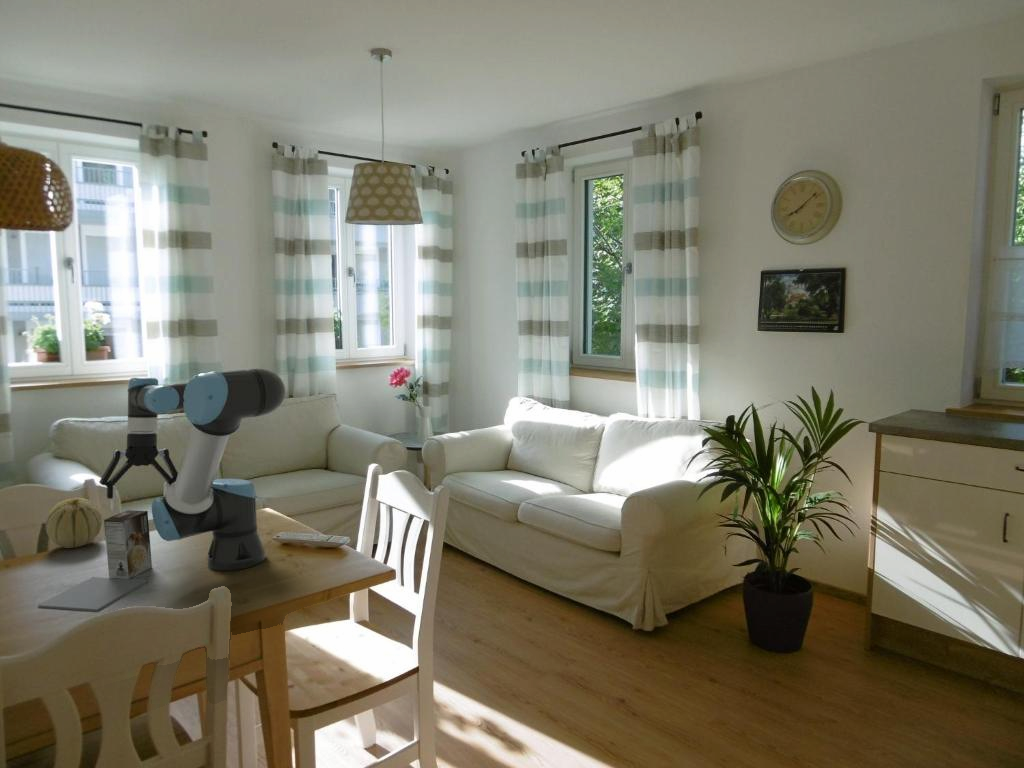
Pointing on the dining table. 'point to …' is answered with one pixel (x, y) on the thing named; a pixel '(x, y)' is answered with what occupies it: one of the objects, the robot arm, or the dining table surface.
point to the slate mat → (93, 594)
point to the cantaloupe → (73, 522)
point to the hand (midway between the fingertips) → (140, 508)
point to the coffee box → (128, 544)
